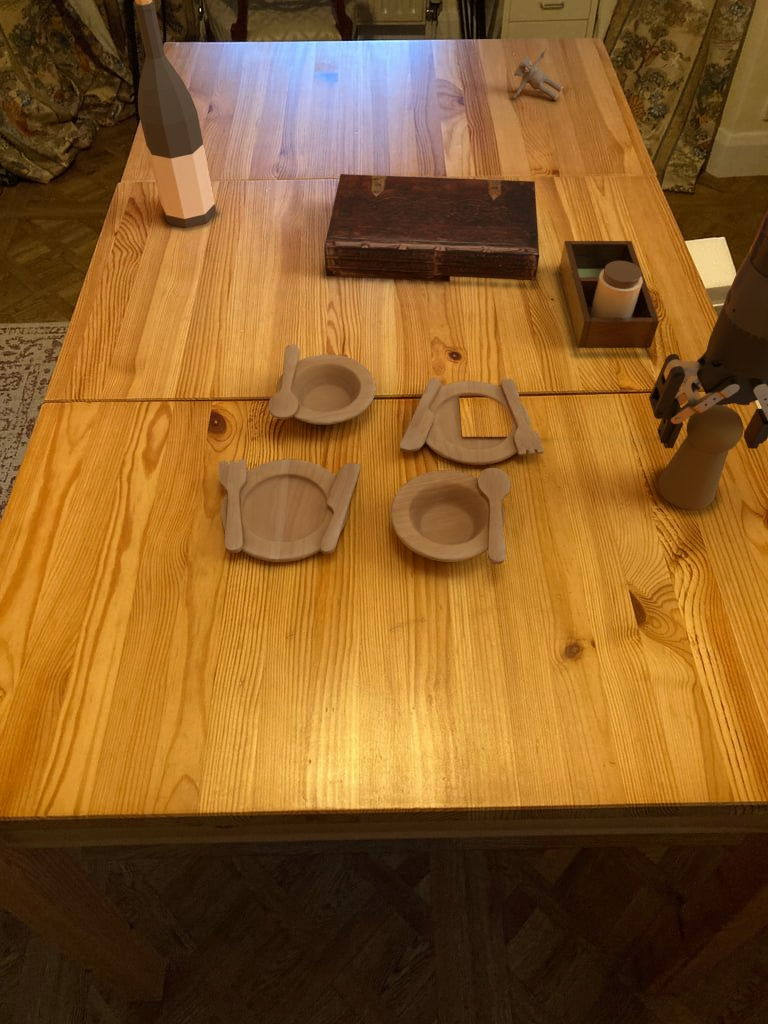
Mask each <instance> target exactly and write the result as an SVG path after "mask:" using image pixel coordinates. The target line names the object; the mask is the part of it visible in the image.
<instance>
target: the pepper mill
mask: <svg viewBox="0 0 768 1024" xmlns="http://www.w3.org/2000/svg"><path fill="white" fill-rule="evenodd" d="M685 431H686V436H685V438H684V439H683V441H682V442H681V444H680V446H679V447H678V449H677V450H676V452H675V453H674V454H673V456H672V457H671V459H670V460H669V462H668V464H667V465H666V467H665V468H664V470H663V471H662V473H661V474H660V475H659V477H658V481H657V487H658V492H659V493H660V494H661V496H662V498H663V499H665V500H666V501H667V502H668V504H671V505H673V506H675V507H676V508H679V509H683V510H687V511H688V510H689V511H697V510H703V509H705V508H707V507H709V506H710V505H711V504H712V503H713V502H714V500H715V497H716V494H717V491H718V487H719V484H720V481H721V477H722V474H723V471H724V468H725V464H726V460H727V457H728V454H729V452H730V451H731V450H732V449H734V448H735V447H736V446H737V445H738V443H739V442H740V441H741V439H742V438H743V434H744V423H743V420H742V417H741V416H740V415H739V413H738V412H737V411H736V410H734V409H733V408H731V407H730V406H727V405H716V404H715V405H713V406H712V407H710V408H709V409H707V410H706V411H704V412H703V413H694V414H693V415H691V416H690V417H689V418H688V420H687V424H686V430H685Z"/></svg>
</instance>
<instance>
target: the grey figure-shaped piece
mask: <svg viewBox="0 0 768 1024" xmlns="http://www.w3.org/2000/svg"><path fill="white" fill-rule="evenodd" d="M546 52H547V48H545V49H544V50H543V51H542V52H541V54H540V56H539V58H538V59H537V60H536V61H534V62H533V63H532V60H531V59H530V58H529V54H528V55H525V56H524V57H523V59H522V61H521V62H520V63H519V64H518V65H517V66H518V67H517V69H515V71H514V73H513V76H514V77H517V76H518V77H520V78H521V81H520V84H519V86H518V89H517V91H516V92H515V94H514V96H513V98H512V99H513V100H514V99H516V98H517V97H518V96H519V95H520V93H521V91H522V90H523V89H524V88H525V87H526V85H527V84H529V85H530V87H531V88H532V89H533V90H539V91H540V92H542V93H544V94H545V95H547V97H549V98H551V99H552V100H553V101H556V100H557V99H558V97H559V94H558V93H561V91H562V90H563V88H564V86H563V85H561V84H559V83H557V82H556V81H555V80H553V79H552V78H551V77H549V76H546V74H545V72H544V71H543V70H539V69H538V68H539V67H540V63H541V61H542V60H544V57H545V54H546ZM546 85H548V86H549V87H551V88H552V89H554V90H555V91H557V92H558V93H556V92H554V90H552V89H550V88H549V87H548V86H546Z"/></svg>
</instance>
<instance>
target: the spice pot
mask: <svg viewBox="0 0 768 1024" xmlns="http://www.w3.org/2000/svg"><path fill="white" fill-rule="evenodd" d="M641 270H642V269H641ZM641 270H640V269H639V267H637V266H636V265H635V264H633V263H630V262H627V261H613V262H610V263H608V264H607V265H606V266H605V269H603V270H602V271H601V273H600V275H599V279H598V283H597V287H596V291H595V295H594V299H593V303H592V307H591V311H590V315H589V316H590V318H632V315H633V312H634V309H635V306H636V302H637V299H638V296H639V292H640V289H641V286H642V282H643V280H642V277H641Z"/></svg>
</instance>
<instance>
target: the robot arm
mask: <svg viewBox="0 0 768 1024" xmlns="http://www.w3.org/2000/svg"><path fill="white" fill-rule="evenodd" d="M680 388H681V389H680ZM700 389H702V390H703V391H704V395H703V396H701V395H700ZM648 401H649V404H650V406H651V410H652V412H653V417H654V418H655V419H656V420H660V422H659V424H658V427H657V434H658V438H659V440H660V444H663V447H664V449H674V447H675V444H676V442H677V440H678V438H679V435H680V433H681V431H682V428H683V426H684V421H686V420H687V419H689V417H690V416H691V415H693V414H694V413H703V412H704V411H706V410H707V409H709V408H710V407H712V406H713V405H715V404H716V405H724V406H727V405H732V404H733V405H738V406H739V405H740V406H750V404H751V403H754V402H757V401H758V404H759V405H760V408H756V409H755V411H754V413H753V415H752V417H751V418H750V421H749V423H748V424H747V427H745V429H744V431H743V439H744V441H745V444H746V446H747V449H750V450H751V449H752V450H755V449H756V450H757V449H758V448H759V447H760V445H762V444H764V443H765V442H766V441H767V439H768V208H767V209H766V211H765V213H764V215H763V217H762V220H761V222H760V225H759V227H758V229H757V232H756V234H755V237H754V239H753V241H752V243H751V246H750V248H749V251H748V252H747V255H746V256H745V258H744V260H743V261H742V263H741V265H740V266H739V268H738V270H737V272H736V274H735V275H734V278H733V281H732V283H731V286H730V288H729V290H728V291H727V293H726V295H725V300H724V302H723V305H722V307H721V310H720V312H719V314H718V317H717V319H716V321H715V324H714V326H713V329H712V331H711V334H710V336H709V339H708V343H707V347H706V350H705V352H704V353H703V355H702V356H700V357H699V358H698V359H697V360H696V361H693V360H681V359H680V356H679V355H678V354H676V353H671V354H669V355H668V356H666V357H665V359H664V362H663V364H662V367H661V368H660V371H659V374H658V376H657V378H656V381H655V382H654V384H653V388H652V390H651V392H650V393H649V396H648ZM685 403H686V404H685Z"/></svg>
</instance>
